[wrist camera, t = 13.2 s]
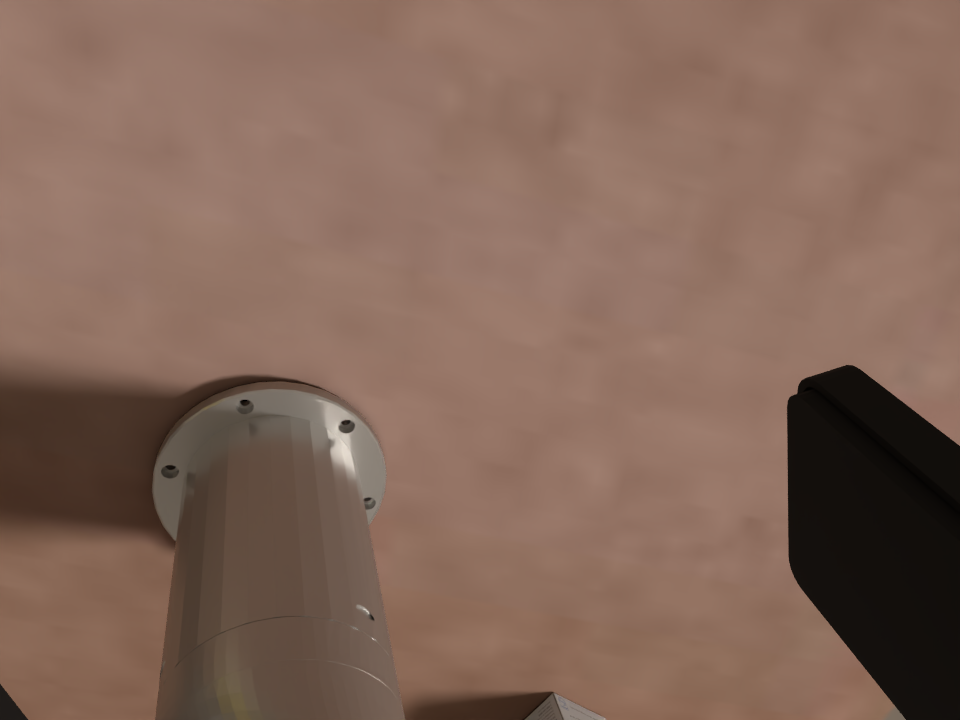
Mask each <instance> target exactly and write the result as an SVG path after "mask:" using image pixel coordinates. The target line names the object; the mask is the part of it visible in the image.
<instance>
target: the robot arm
mask: <svg viewBox="0 0 960 720" xmlns="http://www.w3.org/2000/svg"><path fill="white" fill-rule="evenodd" d="M242 400H248V401H242ZM344 420H347V421H344ZM787 433H788V537H789V563H790V566H791V570H792V572H793V575H794V577H795V579H796V581H797V583H798V584H799V586H800V587H801V589H802V590H803V591H804V593H805V594H806V595H807V596H808V598H809V599H810V600H811V601H812V603H813V604H814V605H815V606H816V608H817V609H818V610H819V611H820V613H821V614H822V615H823V616H824V618H825V619H826V620H827V621H828V623H829V624H830V625H831V626H832V628H833V629H834V630H835V631H836V633H837V634H838V635H839V636H840V638H841V639H842V640H843V641H844V643H845V644H846V645H847V646H848V648H849V649H850V650H851V651H852V653H853V654H854V655H855V656H856V658H857V659H858V660H859V661H860V663H861V664H862V665H863V666H864V668H865V669H866V670H867V671H868V673H869V674H870V675H871V676H872V678H873V679H874V680H875V681H876V683H877V684H878V685H879V686H880V688H881V689H882V690H883V691H884V693H885V694H886V695H887V696H888V698H889V699H890V700H891V701H892V703H893V704H894V705H895V706H896V708H897V709H898V710H899V711H900V713H901V714H902V715H903V716H904V718H905V719H906V720H960V446H959V445H958V444H956V443H955V442H954V441H952V440H951V439H950V438H949V437H947V436H946V435H945V434H943V433H942V432H941V431H939V430H938V429H937V428H936V427H934V426H933V425H932V424H930V423H929V422H928V421H926V420H925V419H924V418H923V417H921V416H920V415H919V414H917V413H916V412H915V411H913V410H912V409H911V408H910V407H908V406H907V405H906V404H904V403H903V402H902V401H901V400H899V399H898V398H897V397H895V396H894V395H893V394H891V393H890V392H889V391H888V390H886V389H885V388H884V387H882V386H881V385H880V384H878V383H877V382H876V381H875V380H873V379H872V378H871V377H869V376H868V375H867V374H865V373H864V372H863V371H862V370H860V369H858V368H857V367H855V366H852V365H846V366H842V367H839V368H836V369H833V370H830V371H827V372H824V373H821V374H817V375H814V376H811V377H808V378H805V379H803V380H802V381H801V382H800V384H799V386H798V393H797V394H796V395H793V396H791V397H790V398H789V400H788V405H787ZM386 476H387V475H386V467H385V460H384V455H383V452H382V448H381V445H380V442H379V440H378V438H377V436H376V434H375V432H374V430H373V428H372V426H371V425H370V424H369V423H368V422H367V420H366V419H365V418H364V417H363V416H362V414H361V413H360V412H359V411H357V410H356V409H355V408H354V407H352V406H351V405H350V404H348V403H347V402H346V401H345V400H343V399H341V398H339V397H337V396H335V395H333V394H331V393H329V392H327V391H325V390H322V389H318V388H315V387H312V386H308V385H305V384H298V383H290V382H282V381H279V382H257V383H252V384H247V385H242V386H237V387H234V388H231V389H228V390H226V391H223V392H220V393H218V394H215V395H213V396H211V397H209V398H208V399H206V400H204V401H203V402H201V403H199V404H198V405H196V406H194V407H193V408H192V409H191V410H190V411H188V412H187V413H186V414H185V415H184V416H183V417H182V418H180V419H179V420H178V421H177V422H176V424H175V425H174V426H173V428H172V429H171V430H170V432H169V433H168V434H167V436H166V437H165V439H164V441H163V443H162V445H161V448H160V450H159V452H158V454H157V458H156V463H155V467H154V472H153V483H152V494H153V500H154V505H155V510H156V512H157V514H158V516H159V519H160V521H161V523H162V525H163V527H164V528H165V529H166V531H167V532H168V533H169V534H170V536H171V537H172V538H173V540H174V541H175V542H176V546H175V555H174V563H173V572H172V580H171V588H170V597H169V605H168V614H167V622H166V631H165V639H164V648H163V656H162V664H161V673H160V681H159V691H158V699H157V708H156V717H155V720H405V716H404V711H403V706H402V701H401V696H400V690H399V685H398V680H397V674H396V669H395V664H394V658H393V653H392V648H391V642H390V637H389V632H388V626H387V621H386V616H385V610H384V605H383V600H382V594H381V589H380V584H379V578H378V573H377V568H376V562H375V557H374V552H373V546H372V541H371V536H370V530H369V525H370V524H371V522H372V520H373V519H374V517H375V515H376V513H377V512H378V510H379V508H380V505H381V502H382V499H383V496H384V493H385V485H386ZM0 720H28V719H27V718H26V717H25V715H24V714H23V713H22V711H21V710H20V709H19V708H18V706H17V705H16V704H15V702H14V701H13V700H12V699H11V697H10V696H9V695H8V693H7V692H6V691H5V690H4V688H3V687H2V686H1V684H0Z"/></svg>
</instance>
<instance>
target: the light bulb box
mask: <svg viewBox="0 0 960 720" xmlns="http://www.w3.org/2000/svg"><path fill="white" fill-rule="evenodd" d="M525 720H606V719H605V718H604V717H602V716H600V715H598V714H596V713H594V712H592V711H590V710H588V709H586V708H584V707H582V706H580V705H578V704H576V703H574V702H572V701H570V700H568V699H566V698H564V697H562V696H560V695H558V694H555V693H552V694H551V695H550V696H549V697H548V698H547V699H546V700H545V701H544V702H543V703H542V704H541V705H540V706H539V707H538V708H537V709H535V710H534V711H533V712H532V713H531V714H530V715H529V716H528V717H527V718H526V719H525Z"/></svg>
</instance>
